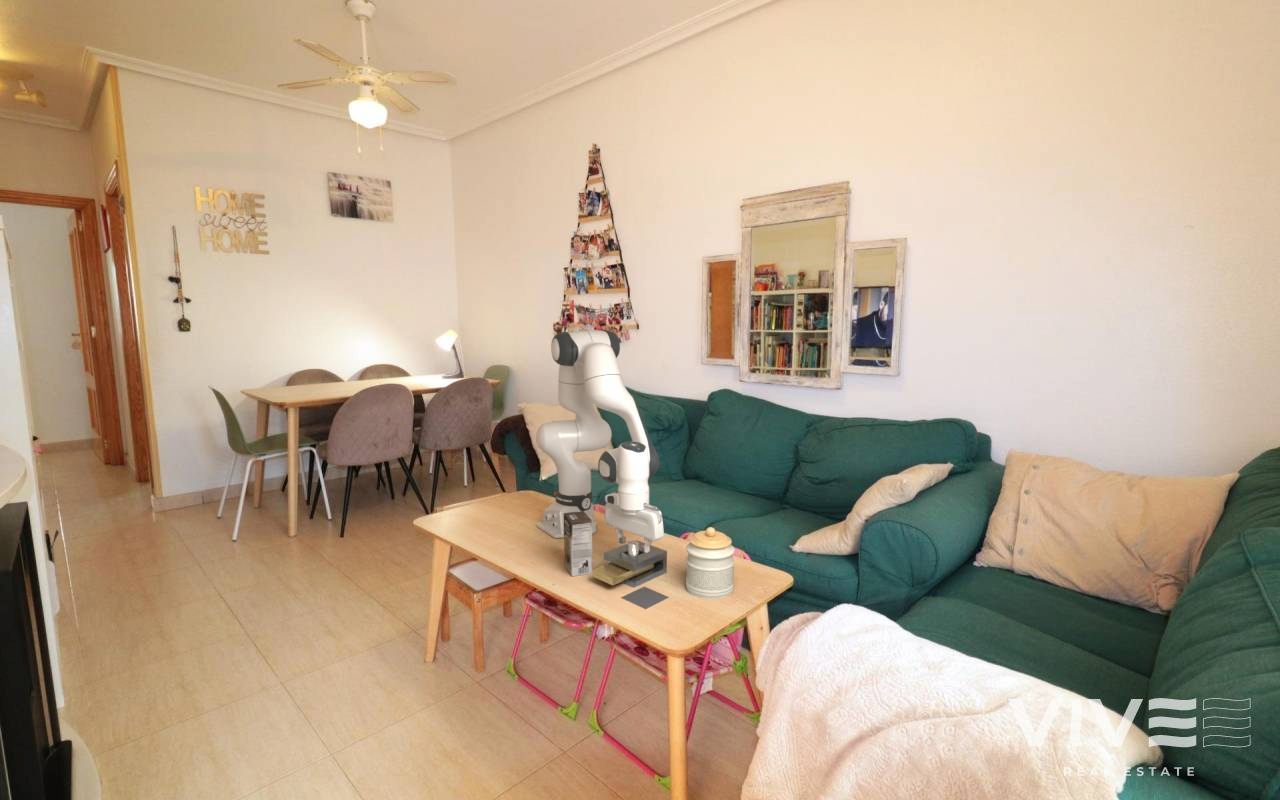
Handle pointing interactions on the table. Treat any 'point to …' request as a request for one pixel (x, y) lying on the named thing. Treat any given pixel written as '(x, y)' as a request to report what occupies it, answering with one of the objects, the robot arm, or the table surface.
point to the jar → (710, 565)
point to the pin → (633, 548)
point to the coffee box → (578, 543)
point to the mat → (644, 597)
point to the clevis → (632, 566)
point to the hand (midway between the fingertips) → (633, 547)
